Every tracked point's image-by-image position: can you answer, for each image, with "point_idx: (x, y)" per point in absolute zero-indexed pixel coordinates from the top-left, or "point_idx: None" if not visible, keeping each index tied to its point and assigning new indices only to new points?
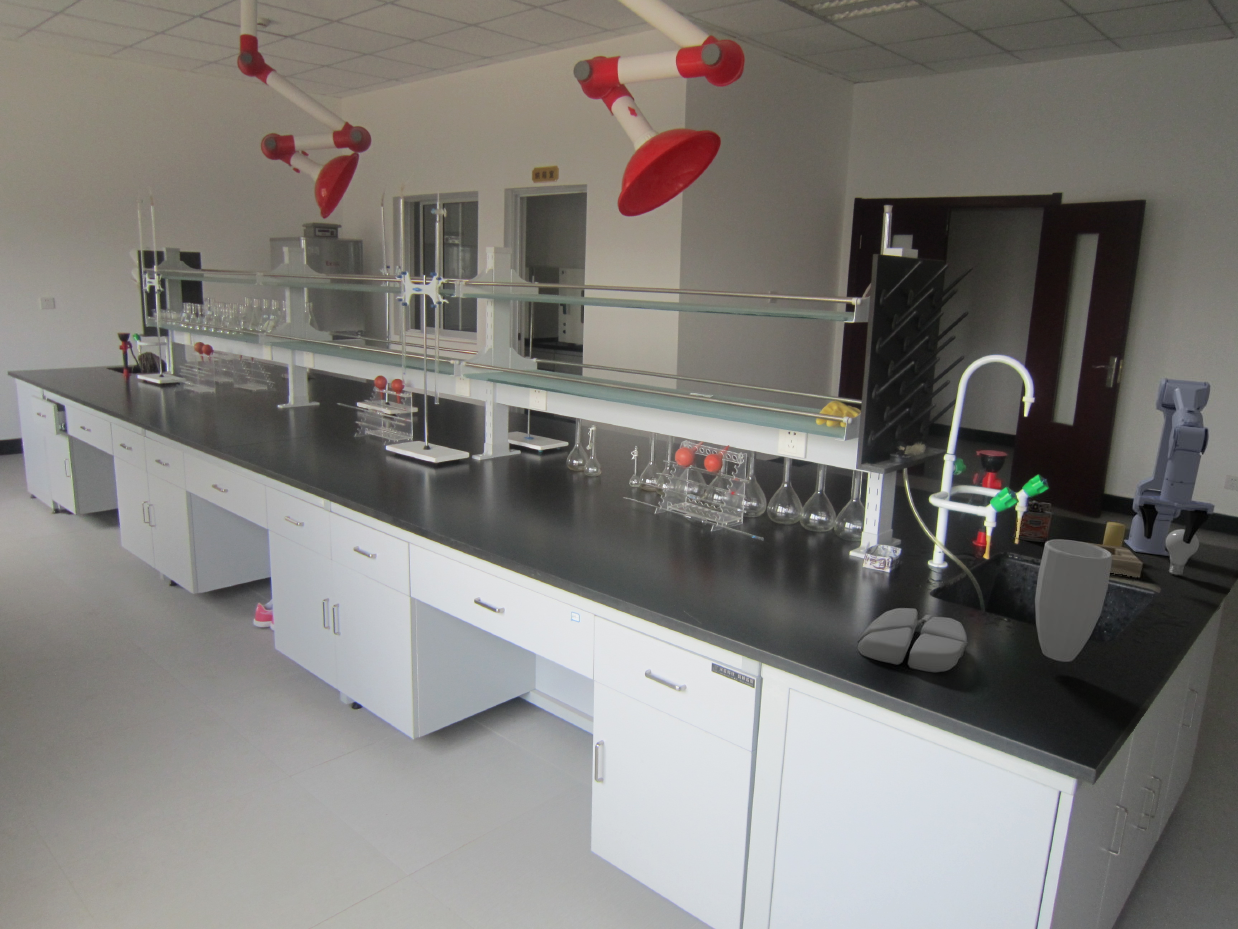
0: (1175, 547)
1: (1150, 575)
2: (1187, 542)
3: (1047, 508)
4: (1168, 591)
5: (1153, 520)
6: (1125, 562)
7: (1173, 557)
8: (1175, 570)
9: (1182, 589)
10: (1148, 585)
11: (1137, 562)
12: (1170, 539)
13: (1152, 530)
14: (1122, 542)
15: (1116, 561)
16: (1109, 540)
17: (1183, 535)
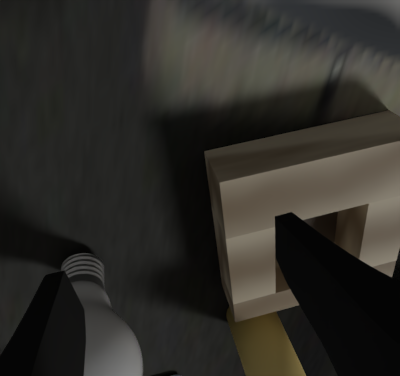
0: (104, 322)
1: (161, 207)
2: (57, 275)
3: None
4: (112, 33)
5: (369, 302)
6: (279, 165)
7: (100, 297)
8: (85, 262)
9: (56, 108)
10: (185, 71)
11: (238, 180)
12: (130, 359)
13: (307, 248)
14: (241, 352)
15: (311, 157)
16: (282, 338)
17: (85, 344)
